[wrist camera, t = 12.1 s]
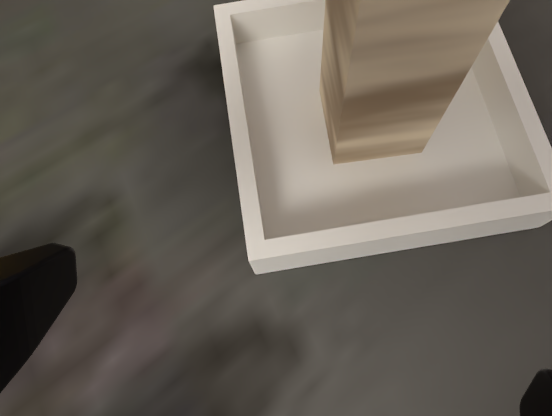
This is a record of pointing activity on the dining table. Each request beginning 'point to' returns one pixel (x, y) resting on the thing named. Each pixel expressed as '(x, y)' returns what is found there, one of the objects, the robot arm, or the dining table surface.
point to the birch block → (396, 70)
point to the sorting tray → (376, 172)
